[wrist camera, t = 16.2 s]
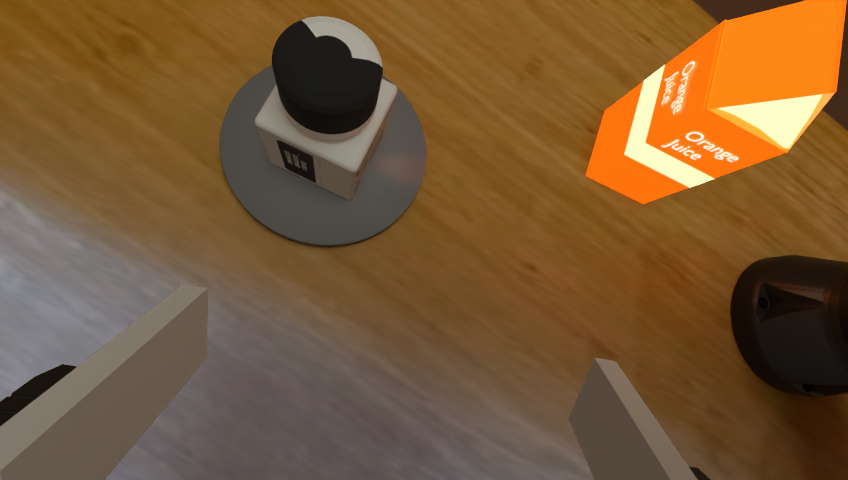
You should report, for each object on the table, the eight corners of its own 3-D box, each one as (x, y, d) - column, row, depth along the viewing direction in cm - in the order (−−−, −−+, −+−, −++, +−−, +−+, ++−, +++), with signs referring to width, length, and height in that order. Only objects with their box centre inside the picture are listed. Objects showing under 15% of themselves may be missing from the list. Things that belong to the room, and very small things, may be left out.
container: (351, 202, 35) (361, 140, 23) (268, 163, 34) (232, 76, 22) (386, 131, 37) (413, 38, 25) (309, 92, 36) (297, -25, 24)
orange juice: (584, 176, 43) (786, 63, 24) (603, 109, 45) (803, -43, 26) (644, 205, 44) (884, 120, 25) (660, 138, 46) (892, 14, 27)
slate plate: (375, 44, 40) (377, 34, 39) (453, 202, 39) (457, 197, 38) (191, 97, 35) (186, 87, 34) (273, 280, 34) (271, 278, 33)
